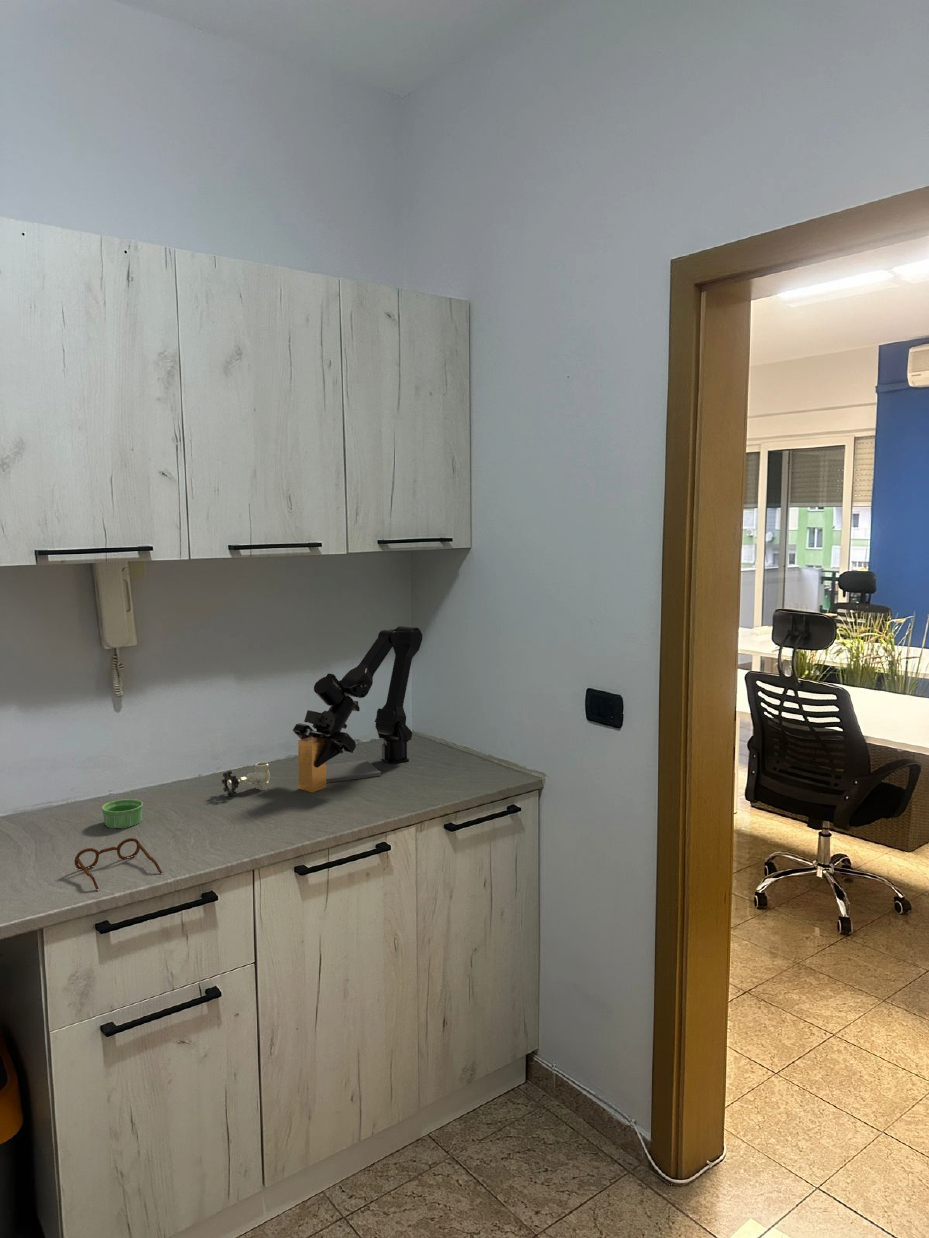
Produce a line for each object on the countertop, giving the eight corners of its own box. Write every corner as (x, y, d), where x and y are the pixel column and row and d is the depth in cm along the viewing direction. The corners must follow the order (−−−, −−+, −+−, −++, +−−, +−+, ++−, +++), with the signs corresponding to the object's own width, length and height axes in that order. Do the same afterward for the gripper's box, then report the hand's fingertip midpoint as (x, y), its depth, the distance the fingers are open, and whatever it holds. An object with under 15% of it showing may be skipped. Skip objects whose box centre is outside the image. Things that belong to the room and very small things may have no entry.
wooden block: (312, 783, 237) (312, 736, 235) (326, 787, 234) (325, 739, 232) (298, 788, 233) (298, 740, 231) (312, 792, 230) (311, 743, 228)
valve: (262, 783, 237) (221, 793, 229) (261, 759, 237) (221, 768, 228) (276, 789, 233) (235, 799, 224) (275, 764, 232) (234, 774, 224)
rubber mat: (365, 763, 256) (365, 760, 256) (381, 775, 244) (381, 772, 244) (311, 770, 249) (311, 766, 249) (324, 783, 238) (324, 779, 238)
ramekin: (98, 831, 202) (97, 812, 202) (106, 817, 211) (105, 800, 210) (140, 828, 204) (139, 810, 203) (146, 815, 213) (145, 797, 212)
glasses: (139, 857, 188) (138, 834, 188) (163, 876, 179) (162, 852, 178) (74, 873, 180) (73, 849, 179) (96, 894, 170) (95, 869, 169)
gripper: (297, 693, 239) (266, 742, 232) (347, 702, 228) (317, 754, 221) (318, 717, 246) (289, 764, 239) (368, 726, 235) (340, 777, 228)
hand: (308, 764), depth 231 cm, fingers closed on wooden block, 5 cm apart
